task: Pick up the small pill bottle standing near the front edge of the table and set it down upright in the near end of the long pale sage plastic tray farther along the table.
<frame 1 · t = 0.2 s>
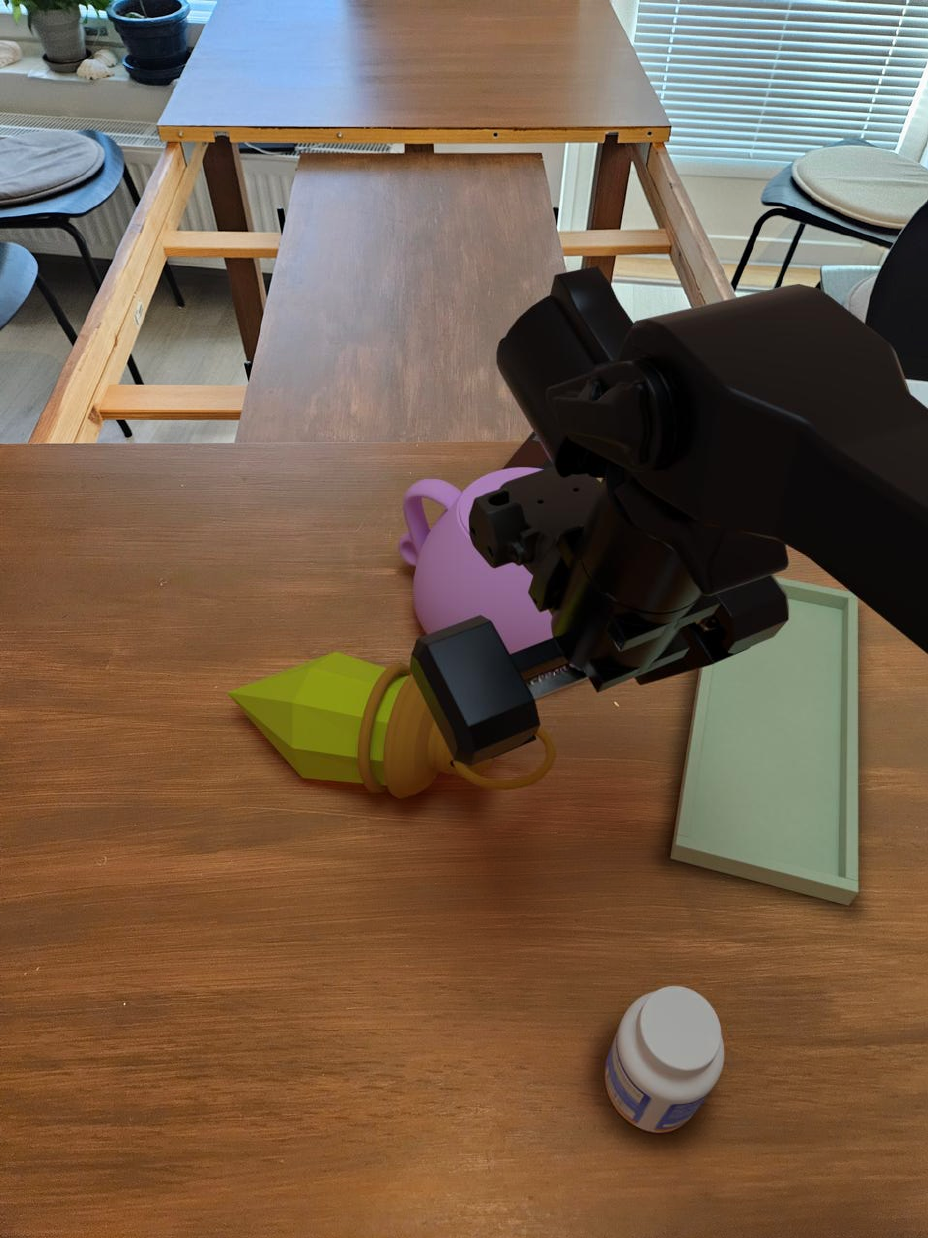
hand: (569, 705, 51), 14 cm above the table, tool pointing down, fingers open, 9 cm apart
pill bottle: (649, 1083, 51), on the table
tray: (770, 719, 68), on the table
teapot: (531, 618, 75), on the table
plumb bob: (384, 761, 65), on the table
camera: (534, 485, 87), on the table
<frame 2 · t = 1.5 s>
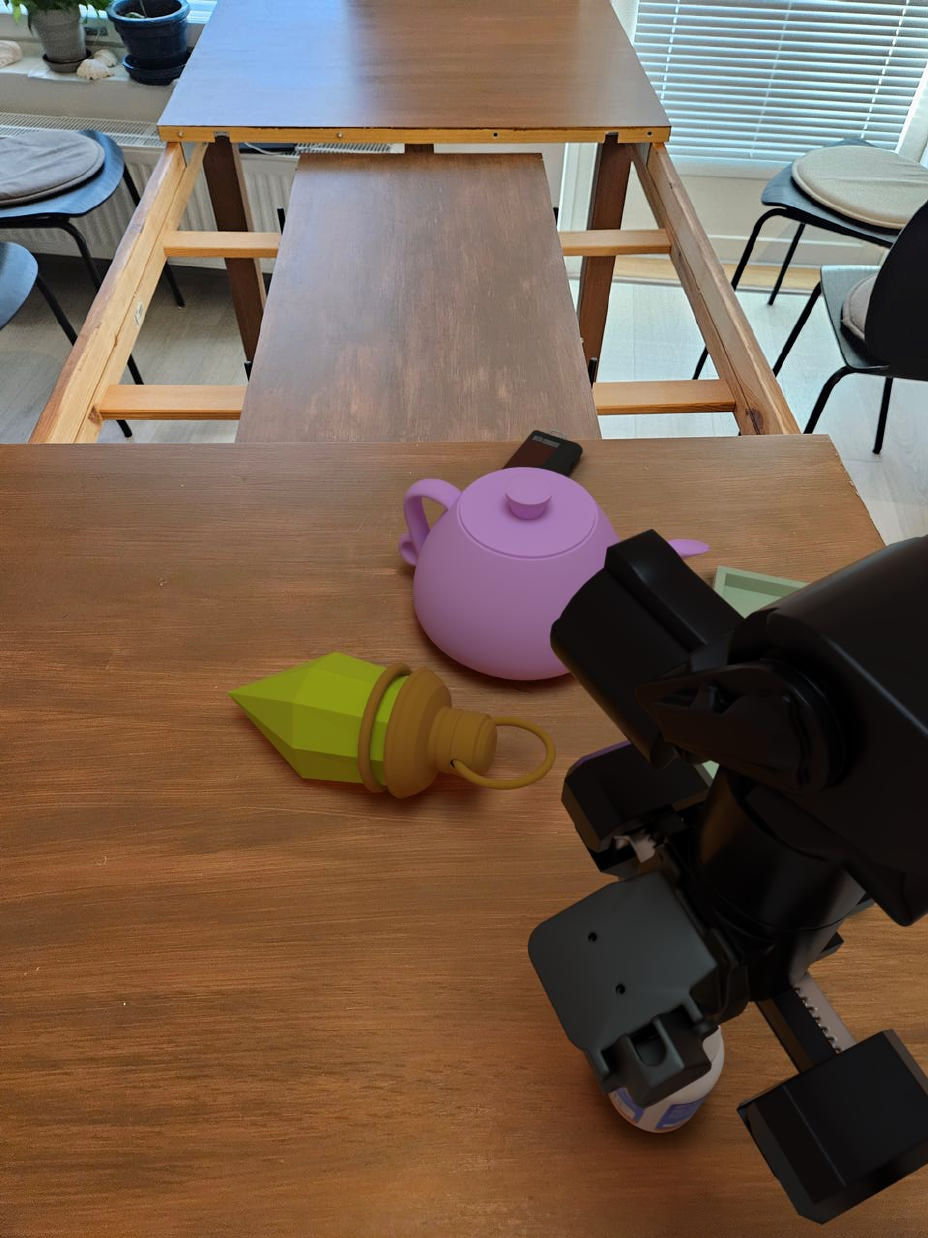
hand: (691, 1009, 42), 12 cm above the table, tool pointing down, fingers open, 9 cm apart
nothing on the table moved.
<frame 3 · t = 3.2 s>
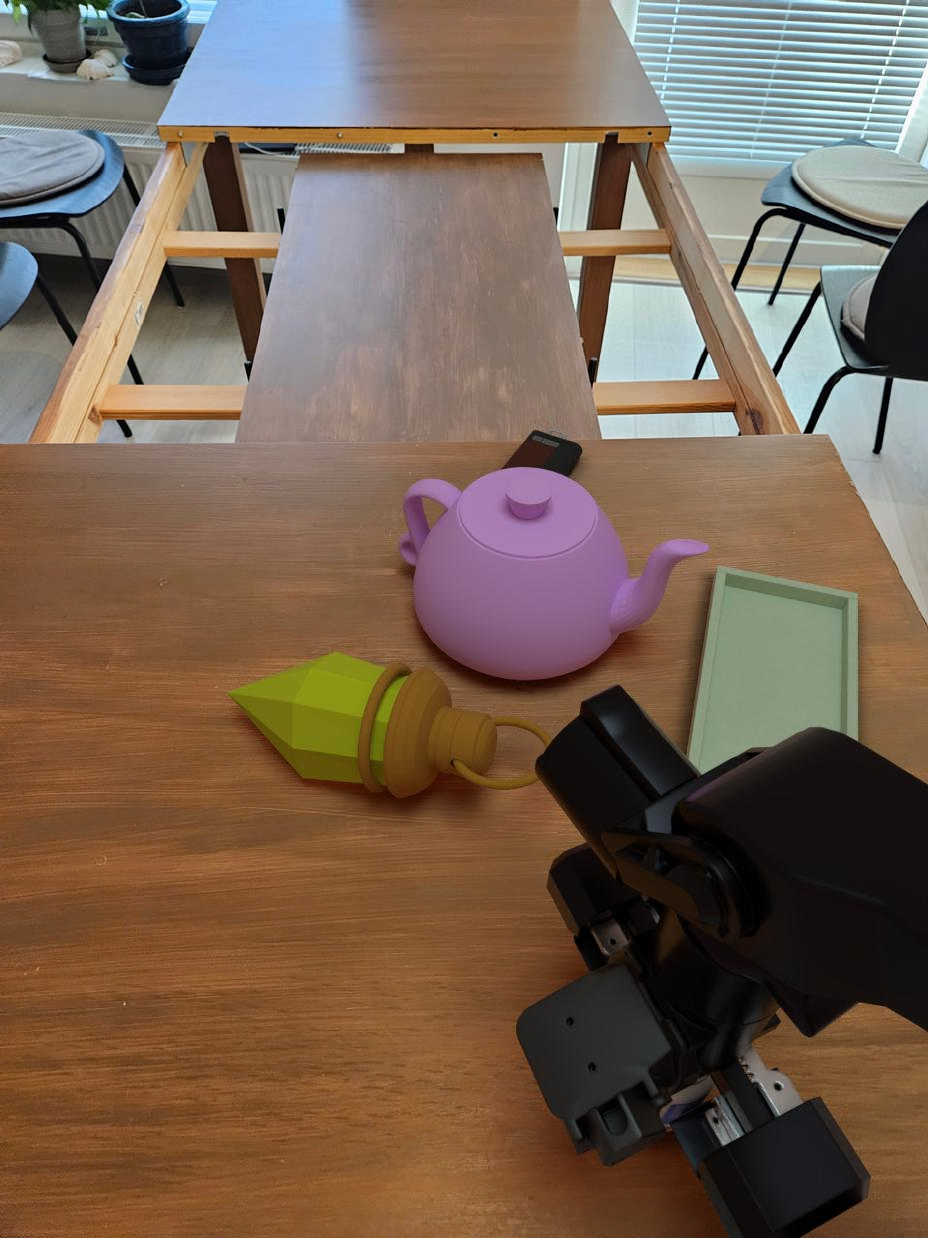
hand: (659, 1066, 49), 3 cm above the table, tool pointing down, fingers closed on pill bottle, 5 cm apart
pill bottle: (649, 1083, 51), on the table, touching gripper
everything else where it was.
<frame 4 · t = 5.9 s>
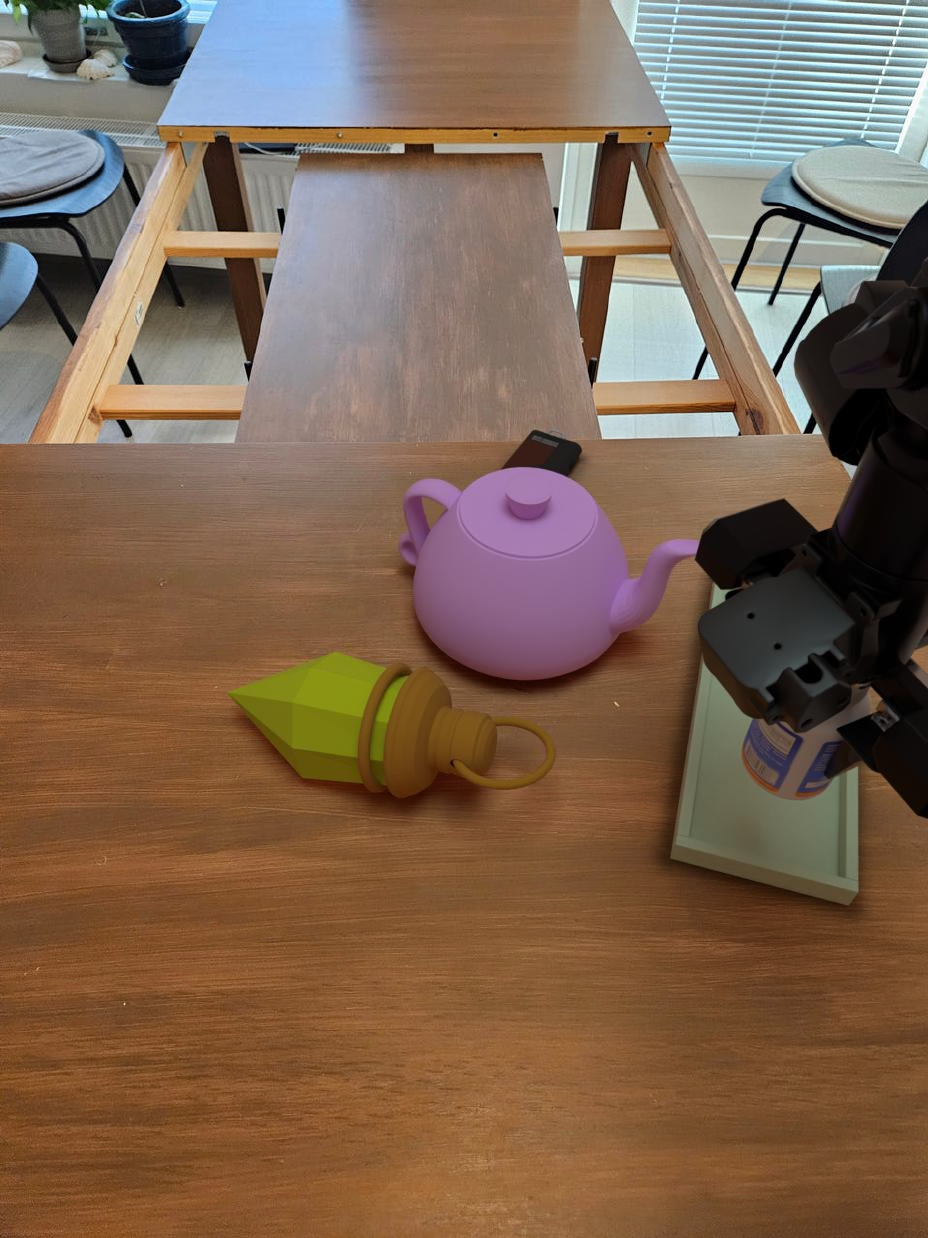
hand: (799, 735, 51), 13 cm above the table, tool pointing down, fingers closed on pill bottle, 5 cm apart
pill bottle: (783, 765, 53), point 10 cm above the table, touching gripper
everything else where it was.
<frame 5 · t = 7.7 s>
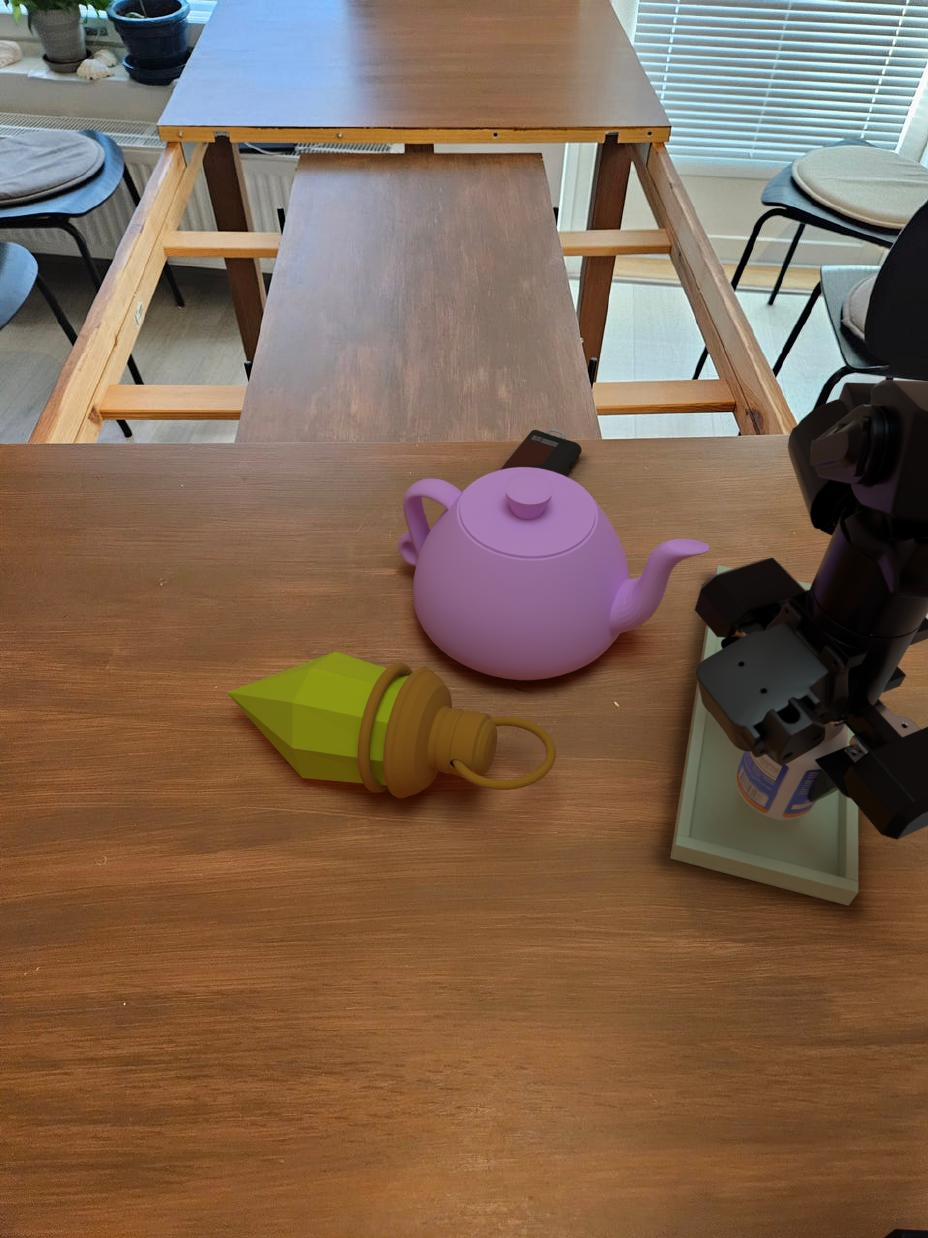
hand: (786, 763, 58), 6 cm above the table, tool pointing down, fingers closed on pill bottle, 5 cm apart
pill bottle: (773, 789, 61), point 3 cm above the table, touching gripper
everything else where it was.
when the fingers open (3 cm above the table, at t = 8.9 s): pill bottle stays where it is, resting on tray.
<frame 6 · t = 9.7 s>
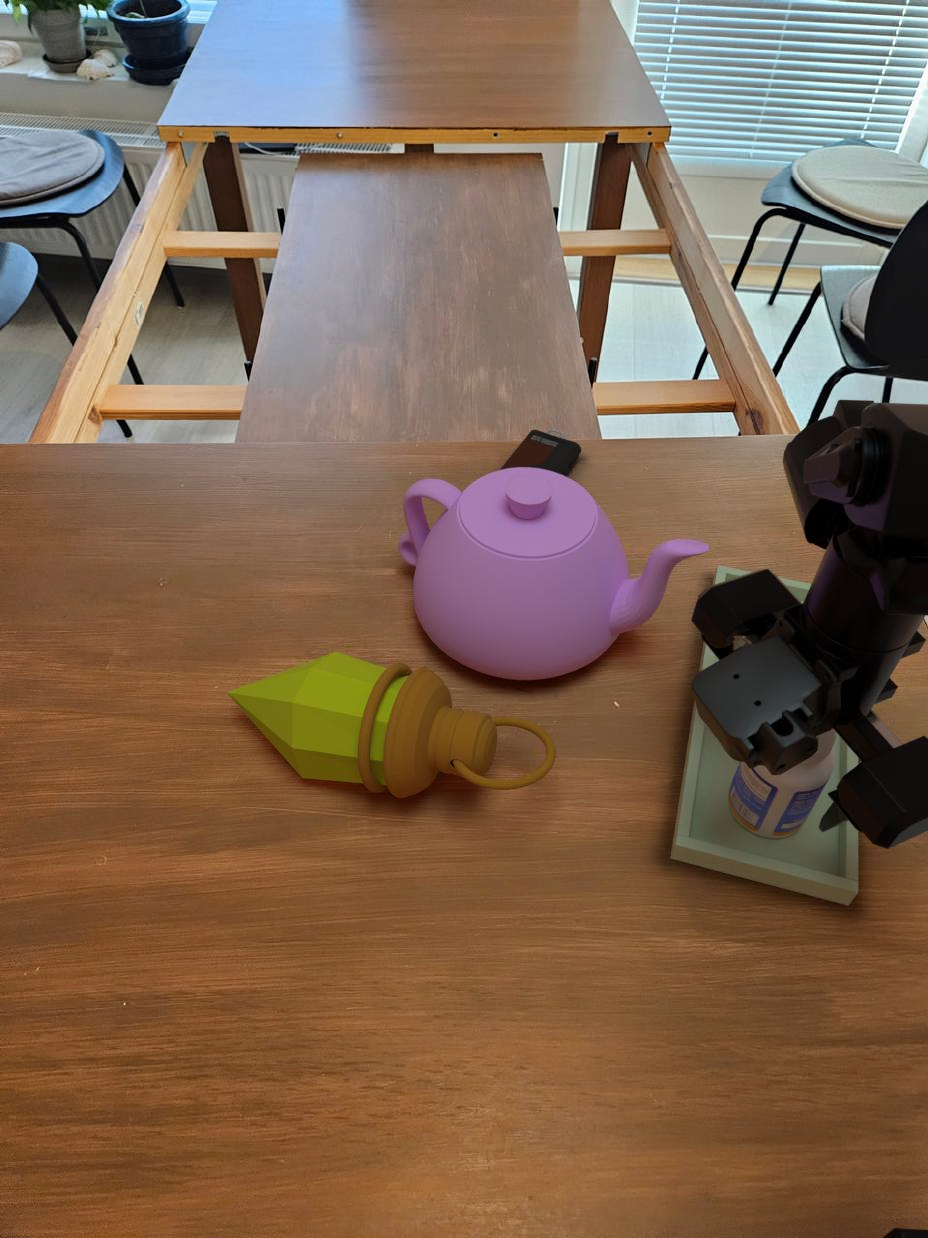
hand: (781, 770, 59), 5 cm above the table, tool pointing down, fingers open, 9 cm apart
pill bottle: (764, 808, 62), resting on tray
everything else where it was.
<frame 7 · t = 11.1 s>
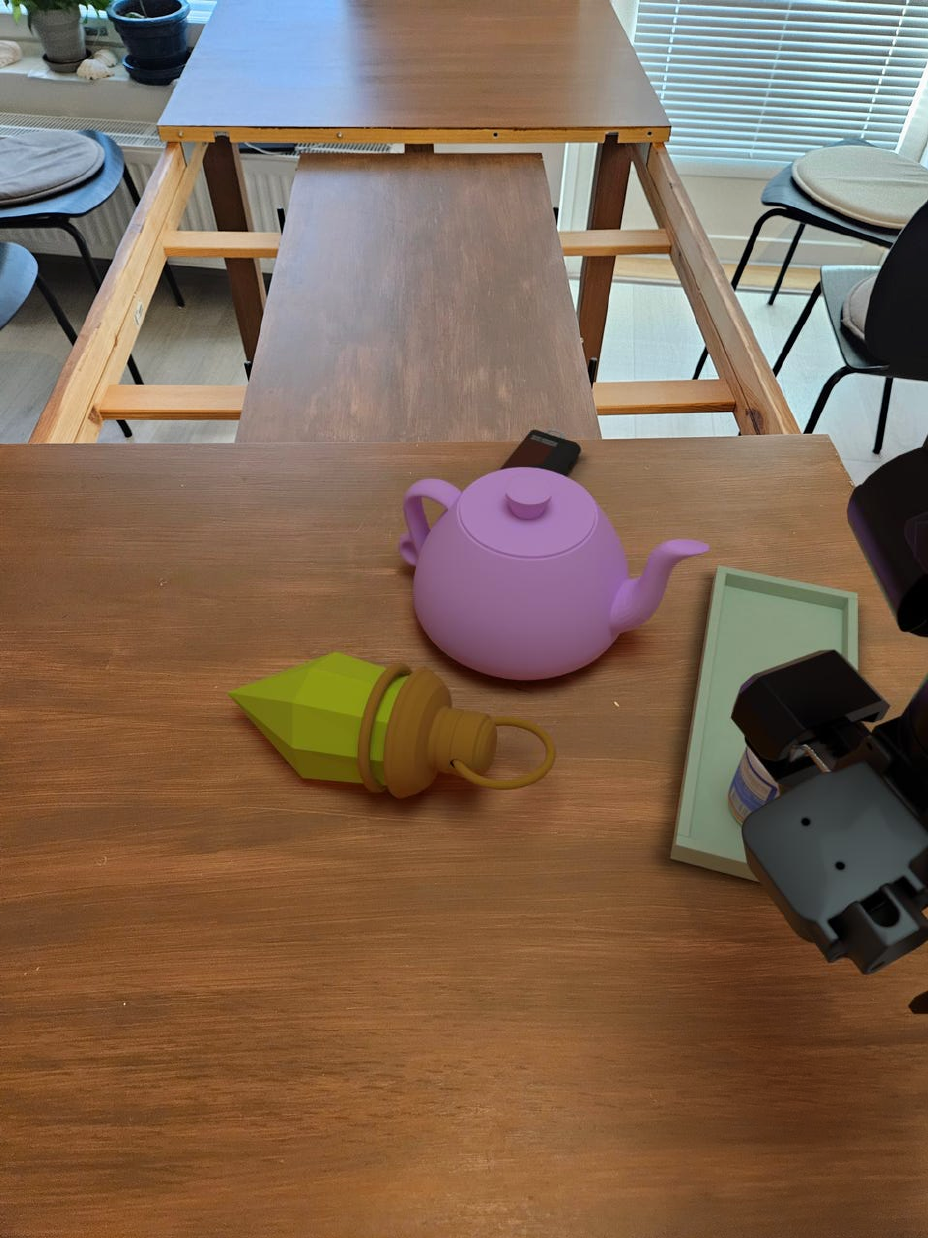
hand: (852, 918, 44), 13 cm above the table, tool pointing down, fingers open, 9 cm apart
nothing on the table moved.
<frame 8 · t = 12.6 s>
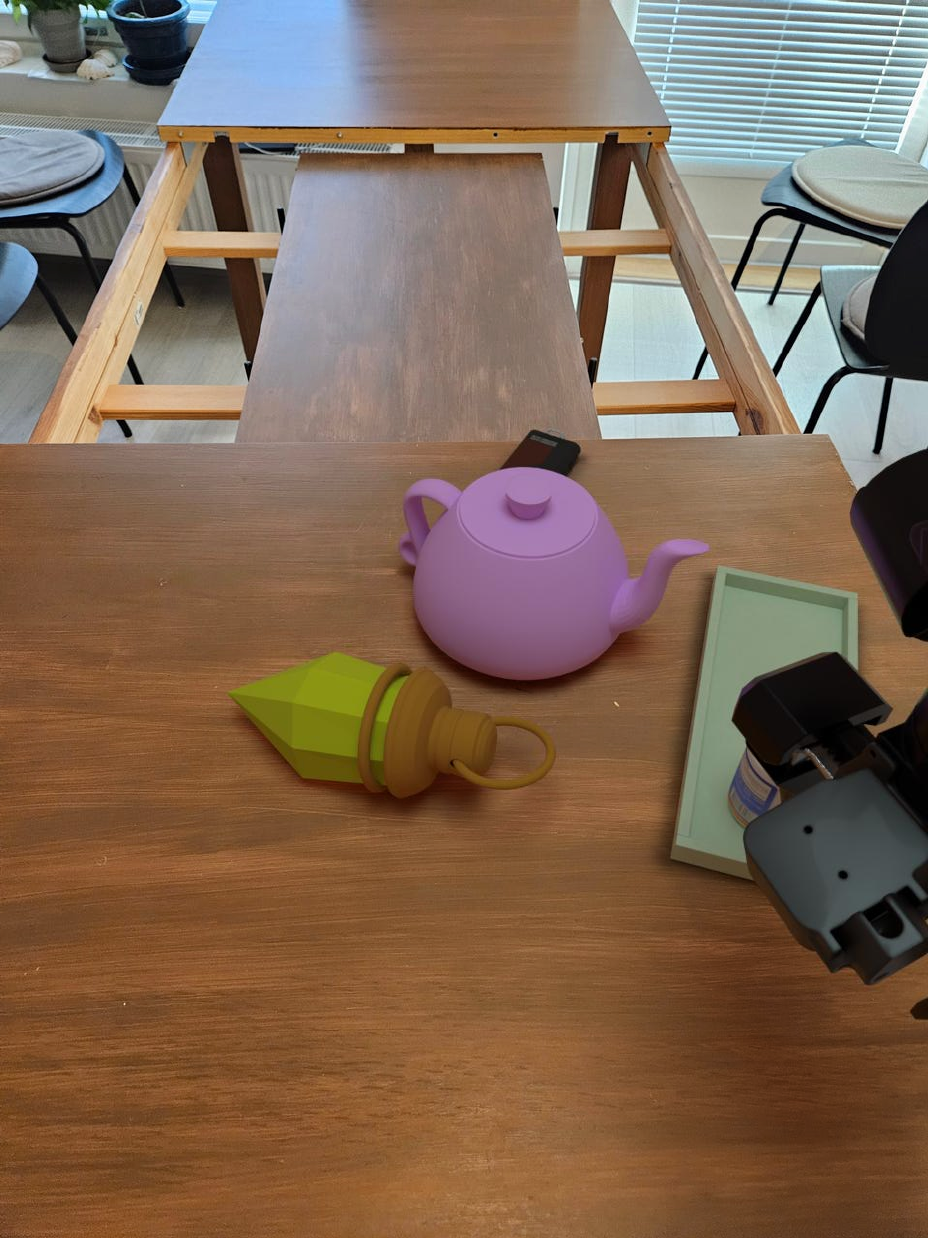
hand: (853, 922, 44), 13 cm above the table, tool pointing down, fingers open, 9 cm apart
nothing on the table moved.
at the end: pill bottle inside the target area in the tray (0.2 cm from its centre), point 0.3 cm above the tray's base; pill bottle tilted 0°; the gripper is holding nothing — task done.
